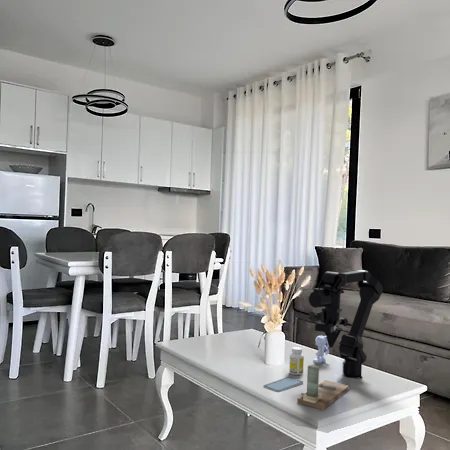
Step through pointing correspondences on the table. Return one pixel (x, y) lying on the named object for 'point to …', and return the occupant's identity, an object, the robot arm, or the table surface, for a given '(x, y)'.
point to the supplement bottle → (296, 361)
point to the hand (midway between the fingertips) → (330, 347)
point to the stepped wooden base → (326, 394)
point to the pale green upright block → (312, 385)
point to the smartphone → (283, 384)
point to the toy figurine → (321, 348)
